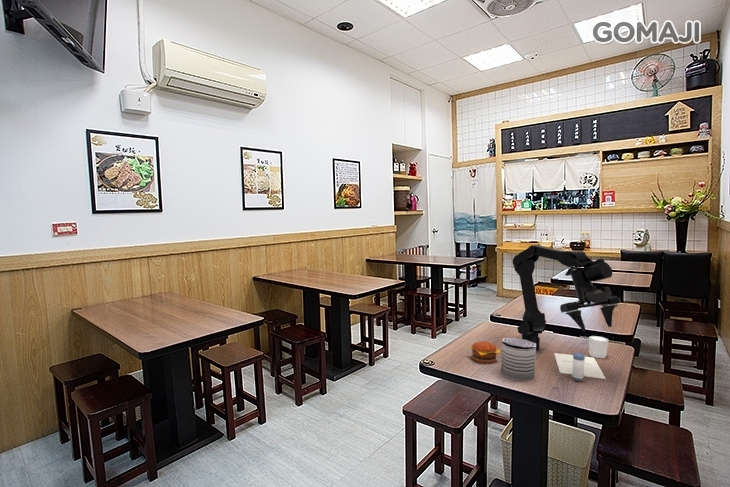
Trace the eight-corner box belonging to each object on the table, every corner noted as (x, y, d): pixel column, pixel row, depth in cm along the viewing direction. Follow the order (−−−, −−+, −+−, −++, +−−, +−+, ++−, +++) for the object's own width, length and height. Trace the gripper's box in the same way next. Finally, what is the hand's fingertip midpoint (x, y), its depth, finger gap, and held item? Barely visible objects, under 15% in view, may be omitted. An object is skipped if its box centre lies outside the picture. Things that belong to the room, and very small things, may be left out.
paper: (559, 373, 137) (560, 372, 137) (554, 353, 156) (554, 352, 156) (605, 379, 132) (605, 378, 132) (593, 358, 151) (593, 357, 151)
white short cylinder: (610, 359, 150) (611, 341, 149) (591, 358, 151) (592, 340, 150) (603, 353, 156) (604, 336, 156) (585, 351, 158) (586, 335, 157)
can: (493, 370, 139) (494, 338, 138) (517, 365, 144) (518, 333, 143) (518, 383, 129) (519, 348, 128) (542, 377, 133) (544, 343, 132)
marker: (572, 381, 130) (574, 355, 130) (571, 377, 134) (572, 351, 133) (584, 382, 129) (585, 356, 128) (582, 378, 132) (583, 353, 132)
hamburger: (486, 353, 156) (486, 337, 155) (501, 362, 147) (502, 345, 146) (466, 356, 153) (466, 339, 152) (480, 365, 144) (481, 348, 143)
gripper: (569, 284, 130) (583, 331, 125) (622, 276, 131) (638, 322, 126) (553, 290, 141) (566, 333, 136) (603, 282, 141) (617, 325, 137)
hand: (597, 329), depth 133 cm, fingers open, 9 cm apart
